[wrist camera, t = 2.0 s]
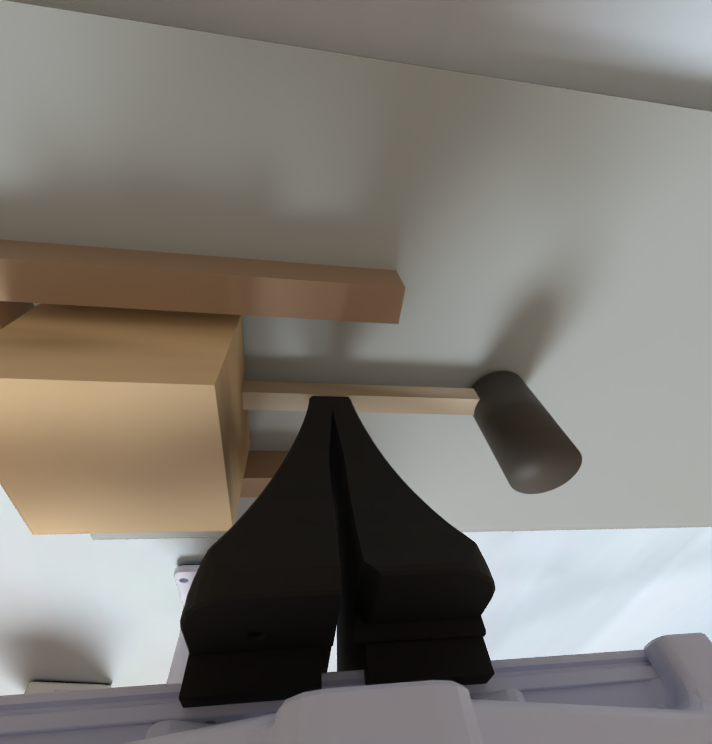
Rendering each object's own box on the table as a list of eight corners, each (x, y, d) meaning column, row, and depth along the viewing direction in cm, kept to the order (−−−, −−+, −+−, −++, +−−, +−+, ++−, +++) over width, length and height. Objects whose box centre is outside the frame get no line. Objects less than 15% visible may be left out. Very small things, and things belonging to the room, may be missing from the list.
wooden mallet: (499, 447, 17) (542, 525, 14) (95, 442, 15) (32, 534, 12) (551, 332, 14) (624, 398, 11) (41, 302, 11) (-68, 375, 8)
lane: (710, 512, 24) (747, 549, 22) (102, 522, 19) (77, 569, 17) (1063, 171, 13) (1199, 180, 11) (-137, -15, 8) (-285, -59, 6)
